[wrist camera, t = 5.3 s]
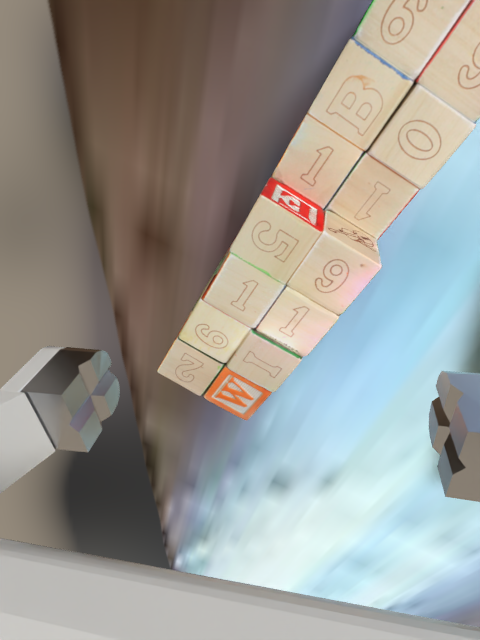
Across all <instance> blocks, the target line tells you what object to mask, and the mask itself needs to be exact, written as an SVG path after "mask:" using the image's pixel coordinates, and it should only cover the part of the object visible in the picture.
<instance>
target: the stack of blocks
mask: <svg viewBox="0 0 480 640" xmlns="http://www.w3.org/2000/svg"><path fill="white" fill-rule="evenodd" d="M479 118H480V0H373V1H372V2H371V4H370V6H369V8H368V9H367V11H366V13H365V15H364V16H363V18H362V20H361V22H360V24H359V26H358V27H357V29H356V31H355V33H354V35H353V36H352V37H351V38H350V40H349V41H348V43H347V44H346V46H345V48H344V49H343V51H342V53H341V55H340V56H339V58H338V60H337V62H336V63H335V65H334V67H333V69H332V70H331V72H330V74H329V76H328V77H327V79H326V81H325V83H324V84H323V86H322V88H321V90H320V91H319V93H318V95H317V96H316V98H315V100H314V102H313V103H312V105H311V107H310V109H309V111H308V112H307V114H306V116H305V117H304V119H303V121H302V122H301V124H300V126H299V128H298V129H297V131H296V133H295V134H294V136H293V138H292V140H291V142H290V143H289V145H288V147H287V149H286V151H285V153H284V154H283V156H282V158H281V160H280V162H279V163H278V165H277V167H276V169H275V170H274V172H273V174H272V176H271V177H270V178H269V180H268V181H267V183H266V185H265V187H264V188H263V190H262V192H261V194H260V195H259V197H258V199H257V201H256V203H255V204H254V206H253V208H252V210H251V212H250V213H249V215H248V217H247V219H246V221H245V222H244V224H243V226H242V228H241V229H240V231H239V233H238V234H237V236H236V238H235V239H234V241H233V243H232V244H231V246H230V248H229V249H228V251H227V253H226V254H225V255H224V257H223V258H222V260H221V262H220V263H219V265H218V267H217V268H216V270H215V272H214V273H213V275H212V277H211V278H210V280H209V282H208V283H207V285H206V287H205V288H204V290H203V292H202V294H201V296H200V297H199V299H198V300H197V302H196V304H195V306H194V307H193V309H192V311H191V312H190V314H189V316H188V318H187V319H186V321H185V323H184V325H183V327H182V328H181V330H180V332H179V334H178V335H177V337H176V339H175V341H174V343H173V344H172V346H171V347H170V349H169V351H168V353H167V354H166V356H165V358H164V359H163V361H162V363H161V364H160V366H159V368H158V370H157V372H158V373H159V374H161V375H163V376H165V377H167V378H169V379H170V380H172V381H174V382H176V383H178V384H179V385H181V386H183V387H185V388H186V389H188V390H190V391H191V392H193V393H195V394H196V395H198V396H201V395H203V396H204V398H205V399H207V400H208V401H210V402H212V403H214V404H216V405H217V406H219V407H221V408H223V409H225V410H227V411H229V412H231V413H232V414H234V415H236V416H238V417H240V418H242V419H244V420H248V419H249V418H250V417H251V416H252V415H253V414H254V413H255V411H256V410H257V409H258V408H259V407H260V406H261V405H262V404H263V403H264V401H265V400H266V399H267V398H268V397H269V396H270V395H271V393H272V392H275V391H276V390H277V389H278V388H279V387H280V385H281V384H282V383H283V382H284V381H285V379H286V378H287V377H288V376H289V375H290V374H291V373H292V371H293V370H294V369H295V368H296V367H297V365H298V364H299V363H300V362H301V360H302V357H303V356H307V355H309V353H310V352H311V351H312V350H313V349H314V348H315V346H316V345H317V344H318V343H319V342H320V340H321V339H322V338H323V337H324V336H325V335H326V333H327V332H328V331H329V330H330V329H331V328H332V326H333V325H334V324H335V323H336V322H337V320H338V318H339V316H340V314H342V313H343V312H344V311H345V310H346V309H347V308H348V307H349V306H350V304H351V303H352V302H353V301H354V300H355V298H356V297H357V296H358V295H359V294H360V293H361V291H362V290H363V289H364V288H365V287H366V286H367V285H368V283H369V282H370V281H371V280H372V279H373V277H374V276H375V275H376V274H377V273H378V272H379V271H380V269H381V268H382V264H381V260H380V254H379V250H378V244H377V240H378V239H379V238H380V237H381V236H382V234H383V233H384V232H385V231H386V230H387V228H388V227H389V226H390V225H391V224H392V222H393V221H394V220H395V219H396V218H397V216H398V215H399V214H400V213H401V212H402V210H403V209H404V208H405V207H406V206H407V205H408V203H409V202H410V201H411V200H412V199H413V197H414V196H415V195H416V194H417V192H418V191H419V190H420V189H423V188H424V187H425V186H426V185H427V184H428V183H429V181H430V180H431V179H432V178H433V177H434V176H435V174H436V173H437V172H438V171H439V170H440V169H441V167H442V166H443V165H444V164H445V163H446V162H447V160H448V159H449V158H450V157H451V156H452V154H453V153H454V152H455V151H456V150H457V148H458V147H459V146H460V145H461V144H462V143H463V141H464V140H465V139H466V138H467V137H468V135H469V134H470V133H471V132H472V131H473V129H474V128H475V126H476V121H477V120H478V119H479Z"/></svg>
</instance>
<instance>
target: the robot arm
mask: <svg viewBox="0 0 480 640" xmlns="http://www.w3.org/2000/svg"><path fill="white" fill-rule="evenodd" d="M111 364H112V363H111V360H110V358H109V355H108V353H107V352H104V351H102V350H93V349H83V348H71V347H66V348H65V347H55V346H47V347H44V348H42V349H41V350H39V351H38V353H36V354H35V355H34V356H33V357H32V358H31V359H30V360H29V361H28V362H27V363H26V364H25V365H24V366H23V367H22V368H21V369H20V370H19V371H18V372H17V373H16V374H15V375H14V376H13V377H12V378H11V379H10V380H9V381H8V382H7V383H6V384H5V385H4V386H3V387H2V388H1V389H0V493H1V492H3V491H4V490H5V489H7V488H8V487H9V486H11V485H12V484H13V483H14V482H16V481H17V480H18V479H20V478H21V477H22V476H24V475H25V474H26V473H28V472H29V471H30V470H32V469H33V468H34V467H35V466H37V465H38V464H39V463H41V462H42V461H43V460H44V459H46V458H47V457H49V456H50V455H51V454H52V453H54V452H55V449H59V450H70V451H80V452H89V450H90V449H91V447H92V445H93V444H94V442H95V441H96V439H97V437H98V436H99V434H100V432H101V431H102V424H101V421H103V420H105V419H106V418H108V417H109V416H111V415H112V413H113V411H114V410H115V408H116V406H117V403H118V399H119V395H120V391H119V383H118V380H117V378H116V377H115V376H114V375H113V374H112V373H111V372H110V371H109V368H110V366H111ZM436 387H437V391H438V394H439V397H438V398H436V399H435V400H434V401H432V403H431V408H430V413H429V432H430V439H431V443H432V447H433V448H434V449H435V450H436V451H437V452H438V453H439V454H440V459H439V462H438V466H437V467H438V471H439V474H440V478H441V482H442V486H443V489H444V493H445V497H451V498H458V499H465V500H471V501H478V502H480V373H469V372H451V371H442V372H441V373H440V375H439V377H438V380H437V384H436ZM0 640H480V628H479V627H474V626H469V625H463V624H458V623H453V622H447V621H442V620H437V619H431V618H426V617H421V616H415V615H410V614H405V613H399V612H394V611H389V610H383V609H378V608H373V607H367V606H362V605H357V604H351V603H346V602H341V601H335V600H330V599H325V598H319V597H314V596H309V595H303V594H298V593H293V592H287V591H282V590H277V589H271V588H266V587H261V586H255V585H250V584H245V583H239V582H234V581H229V580H223V579H218V578H213V577H207V576H202V575H196V574H191V573H186V572H180V571H175V570H170V569H164V568H159V567H153V566H148V565H143V564H138V563H132V562H127V561H121V560H116V559H111V558H105V557H100V556H95V555H89V554H84V553H78V552H73V551H68V550H62V549H57V548H52V547H46V546H41V545H36V544H30V543H25V542H20V541H14V540H8V539H3V538H0Z"/></svg>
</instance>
